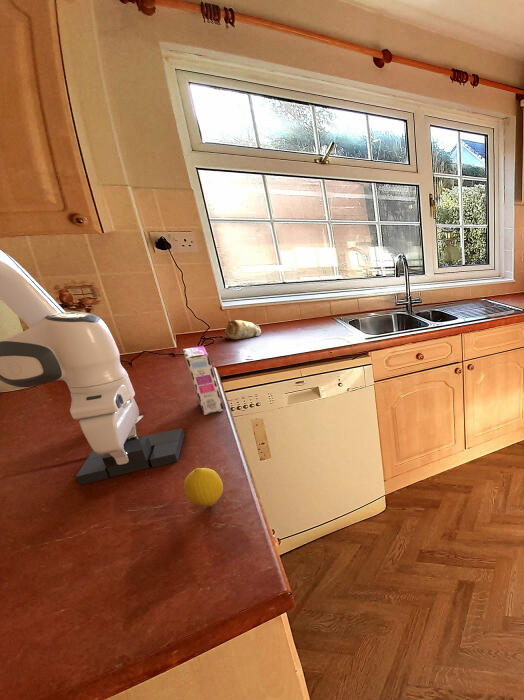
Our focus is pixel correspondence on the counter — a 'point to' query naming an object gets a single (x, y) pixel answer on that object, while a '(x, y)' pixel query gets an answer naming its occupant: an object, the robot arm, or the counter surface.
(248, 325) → the pastry
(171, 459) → the base pad
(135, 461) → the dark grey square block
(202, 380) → the candy bar box
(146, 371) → the counter surface
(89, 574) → the counter surface
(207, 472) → the lemon
